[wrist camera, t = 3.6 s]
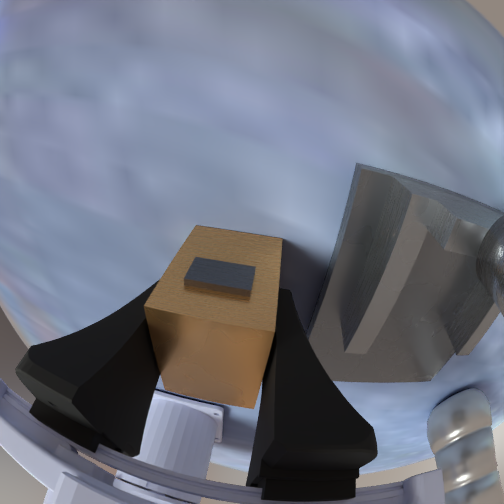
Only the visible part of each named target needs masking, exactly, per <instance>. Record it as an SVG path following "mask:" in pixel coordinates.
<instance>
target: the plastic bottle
mask: <svg viewBox="0 0 504 504" xmlns="http://www.w3.org/2000/svg"><path fill="white" fill-rule="evenodd" d="M491 425H492V417H491V410H490V403H489V401H488V400H487V398H486V396H485V394H484V393H483V392H482V391H480V390H478V389H476V388H471V389H467V390H464V391H462V392H459V393H457V394H455V395H453V396H452V397H450V398H448V399H446V400H445V401H443V402H442V403H440V404H439V405H438V406H437V407H435V408H434V409H433V410H432V412H431V413H430V416H429V419H428V421H427V437H428V441H429V444H430V447H431V449H432V452H433V454H435V460H436V464H437V468H438V469H440V468H441V469H442V472H443V481H444V492H445V504H504V493H503V490H502V487H501V482H500V477H499V471H497V462H496V458H495V449H494V440H493V433H492V428H491Z"/></svg>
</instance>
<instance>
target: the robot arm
mask: <svg viewBox="0 0 504 504" xmlns="http://www.w3.org/2000/svg"><path fill="white" fill-rule="evenodd" d="M158 282H159V280H158V281H157V282H156V283H155V284H153V285H152V286H151V287H149V288H148V289H147V290H146V291H144V292H143V293H142V294H140V295H139V296H138V297H136V298H135V299H133V300H132V301H131V302H129V303H128V304H126V305H125V306H123V307H122V308H120V309H119V310H117V311H116V312H114V313H112V314H111V315H109V316H107V317H105V318H104V319H102V320H100V321H98V322H96V323H94V324H92V325H90V326H88V327H86V328H84V329H82V330H79V331H77V332H75V333H72V334H70V335H67V336H64V337H61V338H59V339H55V340H52V341H49V342H45V343H41V344H38V345H33V346H31V347H30V348H29V350H28V351H27V353H26V354H25V355H24V357H23V359H22V360H21V361H20V363H19V364H18V366H17V367H16V374H17V376H18V377H19V379H20V380H21V382H22V383H23V384H24V385H25V386H26V387H27V388H28V390H29V391H30V392H31V393H32V394H33V395H34V396H35V397H36V400H35V402H34V403H33V405H31V404H30V403H28V402H27V401H26V400H24V399H23V398H21V397H20V396H19V395H17V394H16V393H15V392H13V391H12V390H11V389H10V388H8V387H7V385H6V384H5V382H4V381H3V380H2V379H1V378H0V445H1V447H2V448H3V449H4V450H5V451H6V452H7V453H8V454H9V455H10V456H11V457H12V458H13V459H15V460H16V461H17V462H18V463H19V464H20V465H21V466H22V467H23V468H24V469H25V470H26V471H28V472H29V473H30V474H31V475H32V476H33V477H35V478H36V479H37V480H38V481H39V482H41V483H42V484H43V485H44V486H46V487H47V488H48V491H47V494H46V496H45V499H44V502H43V504H189V503H191V504H200V500H201V497H205V498H210V499H216V500H221V501H227V502H234V503H240V504H445V492H444V481H443V472H442V469H441V468H440V469H436V470H433V471H429V472H425V473H421V474H418V475H415V476H412V477H410V478H408V479H406V480H404V481H401V482H396V483H390V484H384V485H378V486H371V487H363V488H356V479H357V478H358V477H359V468H360V467H362V466H364V465H366V464H367V463H369V462H371V461H372V460H374V459H375V458H376V456H377V454H378V452H377V442H376V437H375V433H374V429H373V427H372V426H371V425H370V424H369V423H368V422H367V421H366V420H365V419H364V418H363V417H362V416H361V415H360V414H359V413H358V412H357V411H356V410H355V409H354V408H353V407H352V405H351V404H350V403H349V402H348V401H347V400H346V398H345V397H344V396H343V395H342V393H341V392H340V391H339V389H338V388H337V387H336V385H335V384H334V383H333V381H332V380H331V379H330V377H329V376H328V374H327V372H326V371H325V369H324V368H323V366H322V365H321V363H320V361H319V360H318V358H317V356H316V354H315V352H314V350H313V348H312V346H311V344H310V342H309V340H308V338H307V336H306V334H305V332H304V329H303V327H302V324H301V322H300V319H299V317H298V314H297V311H296V308H295V305H294V301H293V298H292V293H291V291H290V290H287V289H280V288H279V291H278V302H277V314H276V325H275V333H274V337H273V341H272V345H271V349H270V353H269V356H268V360H267V364H266V368H265V371H264V375H263V379H262V395H261V403H260V410H259V416H258V422H257V428H256V434H255V440H254V445H253V451H252V456H251V462H250V467H249V472H248V477H247V482H246V486H239V485H233V484H226V483H221V482H215V481H210V480H206V475H207V471H208V466H209V462H210V458H211V453H212V449H213V445H214V442H218V443H220V442H221V441H222V428H223V412H224V410H223V408H222V407H220V406H216V405H211V404H206V403H202V402H197V401H193V400H189V399H185V398H181V397H177V396H174V395H170V394H166V393H163V392H160V391H156V390H155V388H156V385H157V382H158V379H159V376H160V371H159V367H158V364H157V360H156V356H155V352H154V348H153V344H152V340H151V336H150V332H149V328H148V323H147V319H146V314H145V309H144V305H145V303H146V301H147V300H148V298H149V297H150V295H151V293H152V292H153V290H154V288H155V287H156V285H157V284H158ZM77 450H78V451H80V452H81V453H83V454H85V455H87V456H89V457H91V458H93V459H95V460H97V461H99V462H101V463H104V464H106V465H108V466H110V467H112V468H115V469H117V473H116V475H115V476H114V475H113V474H111V473H109V472H107V471H105V470H103V469H102V468H100V467H98V466H97V465H96V464H94V463H92V462H90V461H88V460H86V459H85V458H83V457H81V456H80V455H78V452H77ZM115 477H116V478H118V479H120V480H118V479H116V478H115ZM121 480H122V481H121ZM123 481H124V482H123ZM128 483H129V484H128ZM185 502H186V503H185Z"/></svg>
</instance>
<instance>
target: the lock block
mask: <svg viewBox="0 0 504 504" xmlns="http://www.w3.org/2000/svg"><path fill="white" fill-rule="evenodd" d="M281 252H282V238H276V237H269V236H263V235H257V234H250V233H244V232H237V231H231V230H224V229H218V228H211V227H204V226H197V225H196V226H195V227H194V229H193V230H192V232H191V233H190V235H189V236H188V238H187V239H186V241H185V242H184V244H183V245H182V247H181V248H180V250H179V251H178V253H177V254H176V256H175V257H174V259H173V260H172V262H171V263H170V265H169V266H168V268H167V270H166V271H165V273H164V274H163V276H162V277H161V279H160V280H159V282H158V284H157V285H156V287H155V288H154V290H153V292H152V293H151V295H150V297H149V298H148V300H147V301H146V303H145V305H144V309H145V314H146V319H147V323H148V328H149V332H150V336H151V340H152V344H153V348H154V352H155V356H156V360H157V364H158V367H159V371H160V374H161V378H162V381H163V385H164V388H165V390H167V391H171V392H175V393H178V394H182V395H186V396H190V397H194V398H199V399H203V400H207V401H212V402H217V403H222V404H227V405H233V406H238V407H244V408H251V409H254V407H255V403H256V400H257V396H258V393H259V389H260V386H261V382H262V379H263V375H264V371H265V368H266V364H267V360H268V356H269V353H270V349H271V345H272V341H273V337H274V333H275V325H276V314H277V302H278V291H279V278H280V265H281Z"/></svg>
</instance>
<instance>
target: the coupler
mask: <svg viewBox="0 0 504 504" xmlns="http://www.w3.org/2000/svg"><path fill="white" fill-rule="evenodd" d="M500 311H501V313H502V315H503V316H504V213H503V212H501V211H499V210H497V209H495V208H492V207H490V206H488V205H485V204H483V203H481V202H478V201H476V200H473V199H471V198H468V197H465V196H463V195H460V194H458V193H455V192H452V191H449V190H447V189H444V188H441V187H438V186H435V185H432V184H429V183H426V182H423V181H420V180H417V179H413V178H410V177H407V176H404V175H400V174H397V173H393V172H390V171H386V170H382V169H378V168H375V167H371V166H367V165H363V164H358V163H356V167H355V172H354V176H353V180H352V184H351V189H350V193H349V197H348V201H347V205H346V208H345V212H344V216H343V220H342V223H341V227H340V231H339V234H338V238H337V241H336V245H335V248H334V251H333V255H332V258H331V261H330V265H329V268H328V271H327V274H326V277H325V281H324V284H323V287H322V290H321V293H320V296H319V299H318V302H317V305H316V308H315V310H314V313H313V316H312V319H311V322H310V324H309V327H308V330H307V333H306V336H307V338H308V340H309V342H310V344H311V346H312V348H313V350H314V352H315V354H316V356H317V358H318V360H319V361H320V363H321V365H322V366H323V368H324V369H325V371H326V372H327V374H328V376H329V377H330V379H331V380H332V381H345V382H422V381H431V380H432V378H433V377H434V376H435V375H436V374H437V373H438V372H439V371H440V369H441V368H442V367H443V366H444V365H445V364H446V362H447V361H448V360H449V359H450V358H451V356H452V355H453V354H454V353H456V355H469V354H470V352H471V351H472V350H473V349H474V347H475V346H476V345H477V343H478V342H479V341H480V340H481V338H482V337H483V336H484V334H485V333H486V331H487V330H488V329H489V327H490V326H491V324H492V323H493V322H494V320H495V319H496V317H497V316H498V314H499V313H500Z"/></svg>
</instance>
